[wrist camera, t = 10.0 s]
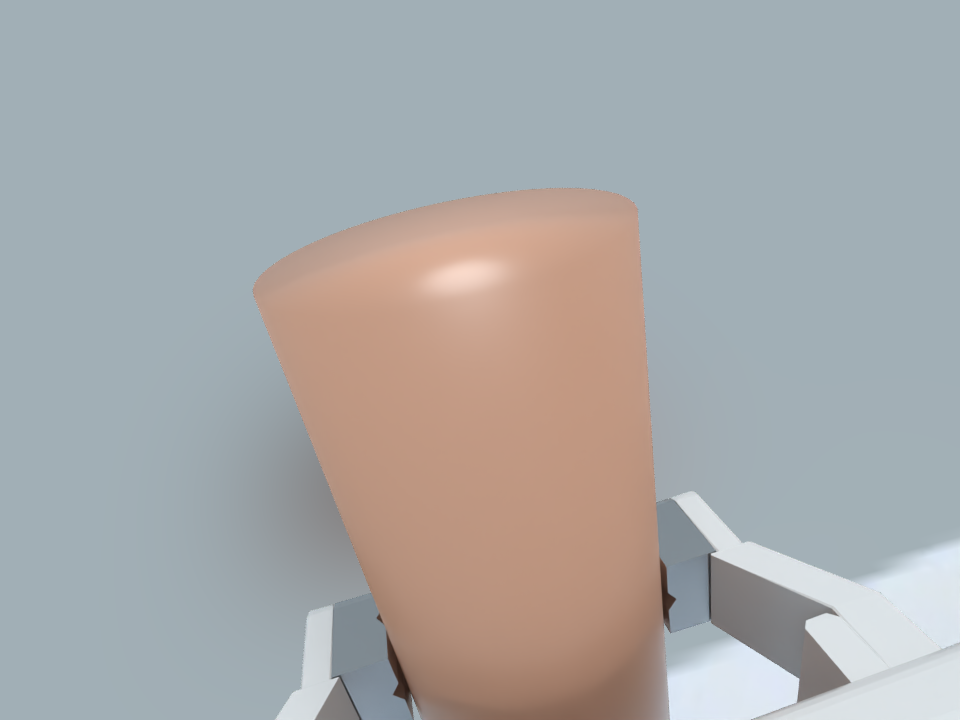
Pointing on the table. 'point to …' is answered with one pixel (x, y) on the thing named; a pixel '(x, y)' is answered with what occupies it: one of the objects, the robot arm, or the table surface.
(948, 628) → the table surface
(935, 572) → the table surface
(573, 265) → the canister
